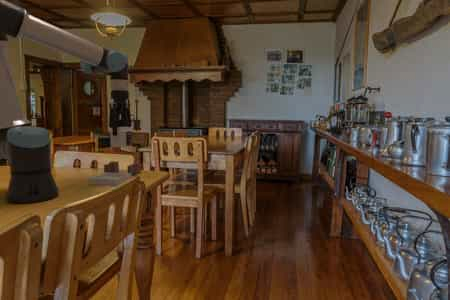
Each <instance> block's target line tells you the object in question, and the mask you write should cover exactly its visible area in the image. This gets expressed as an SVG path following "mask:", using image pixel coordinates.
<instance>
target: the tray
mask: <svg viewBox="0 0 450 300" xmlns="http://www.w3.org/2000/svg"><path fill="white" fill-rule="evenodd" d="M130 178H131V179H132V177H131V173H128V172H125V173H124V172H118V173H109V172H105V173H104V172H103V173H100V174H96V175H94V176H91V177H88V185H103V186H119V185H121V184H123V183H125V182H127V181H126V180H128V179H130ZM131 179H130V180H131ZM124 181H125V182H124ZM128 181H129V180H128ZM122 182H123V183H122Z"/></svg>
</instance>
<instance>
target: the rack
mask: <svg viewBox="0 0 450 300" xmlns="http://www.w3.org/2000/svg"><path fill="white" fill-rule="evenodd" d="M119 163H120V162H119V161H117V160H116V161H114V162H113V161H112V162H110V163H107V164H104V165H103V171H104V172H103V173H105V172H109V173H117V172H118V173H120V171H119V170H120V168H119V167H120V166H119ZM141 165H142V164H141V161H140V162H139V161H138V162H134V163H131V164H129V165H127V173H131V178H133V177H135V176H137V175H140V174H141V173H142V168H141V167H142V166H141Z"/></svg>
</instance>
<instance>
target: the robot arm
mask: <svg viewBox="0 0 450 300" xmlns="http://www.w3.org/2000/svg"><path fill="white" fill-rule="evenodd" d="M8 36H9V37H11V38H14V39H18V38H23V39H25V40H28V41H31V42H33V43H36V44H38V45H41V46H43V47H46V48H48V49H50V50H53V51H56V52H59V53H61V54H63V55H66V56H69V57H71V58H74V59H76V60H79V61H80V62H79V64H80V69H81V72H82V73H84V74H87V75H88V74H89V75H98V76H99V75H100V76H101V75H102V76H109V79H110V82H109V83H110V99H111V100H113V101H112V103H109V104H108V105H109V113H108V114H109V118H108V126H109V128H110V129H112V132H113V143H119V128H118V124H119V119H126V120H127V121H128V128H127V130H130V128H131V127H132V117H131V104H130V103H127V100H129V99H130V94H129V93H130V92H129V89H130V87H129V84H130V83H129V60H128V56H127V54H125V53H123V52H121V51H120V50H110V49H107V48H105V47H102V46H100V45H98V44H95V43H93V42H91V41H89V40H87V39H84V38H82V37H80V36H78V35H76V34H73V33H71V32H69V31H66V30H64V29H62V28H60V27H57V26H56V25H53V24H51V23H49V22H47V21H44V20H42V19H40V18H38V17H35V16H34V15H31V14H29V12H28V11H27V10H26V9H25V8H24V7H21V6H19V5H17V4H14V3H13V2H10V1H8V0H0V156H1V158H3V159H4V160H6V161H9V169H10V179H9V181H8V182H9V183H8V188H7V191H6V193H5V199H6V200H5V201H6V203H8V204H9V203H11V204H15V205H18V204H34V203H40V202H45V201H49V200H53V199H55V198H57V197H59V195H60V194H59V187H58V186H57V184H56V181H55V179H54V176H53V174H52V162H51V161H52V160H51V146H50V141H51V139H50V135H49V131H48V130H47V129H46V128H44V127H39V126H34V125H32V122H31V121H30V120H29V119H27V118H25V115H24V111H23V108H22V104H21V101H20V98H19V94H18V91H17V90H18V89H17V86H16V82H15V80H14V79H15V78H14V75H13V72H12V68H11V65H10V61H9V58H8V54H7V50H6V47H7V46H8V45H9V39H8Z"/></svg>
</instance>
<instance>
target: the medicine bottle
mask: <svg viewBox="0 0 450 300" xmlns="http://www.w3.org/2000/svg"><path fill="white" fill-rule="evenodd" d="M118 128H119V143H113V132H112V130H110V132H109V134H110V135H109V138H110V147H112V148H128V147H131V146H132V130H131V129H129V130H127V128H128V121H127V120H126V119H122V118H119V124H118Z"/></svg>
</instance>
